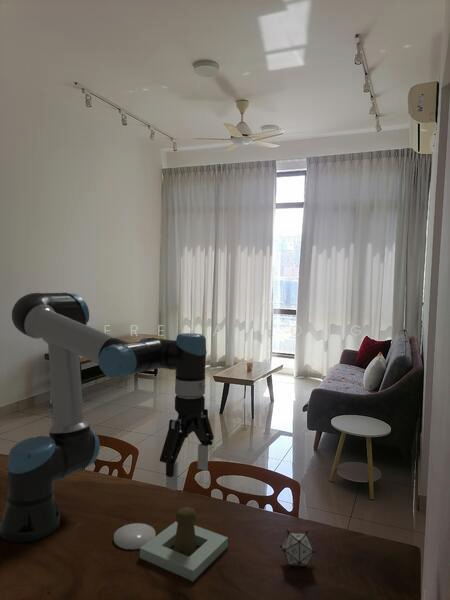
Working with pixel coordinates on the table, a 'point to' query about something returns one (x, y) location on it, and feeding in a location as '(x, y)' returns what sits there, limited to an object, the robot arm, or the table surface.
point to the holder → (178, 562)
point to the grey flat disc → (133, 536)
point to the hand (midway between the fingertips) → (187, 478)
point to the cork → (185, 531)
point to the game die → (297, 549)
